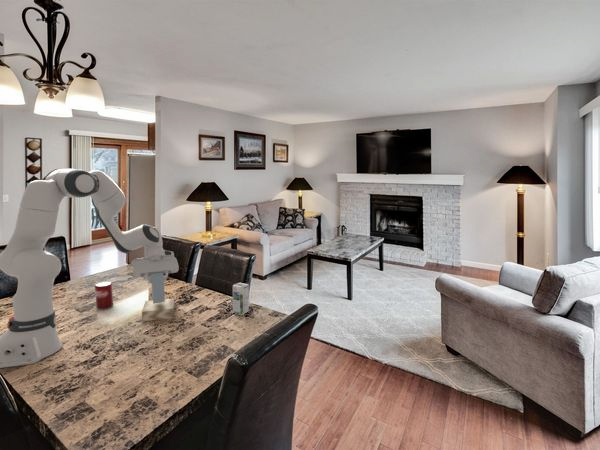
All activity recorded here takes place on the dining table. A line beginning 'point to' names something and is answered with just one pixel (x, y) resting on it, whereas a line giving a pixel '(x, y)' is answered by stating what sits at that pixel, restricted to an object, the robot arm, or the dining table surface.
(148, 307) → the birch block
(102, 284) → the soda can
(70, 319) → the dining table surface
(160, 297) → the slate block
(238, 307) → the syrup box
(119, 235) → the robot arm
